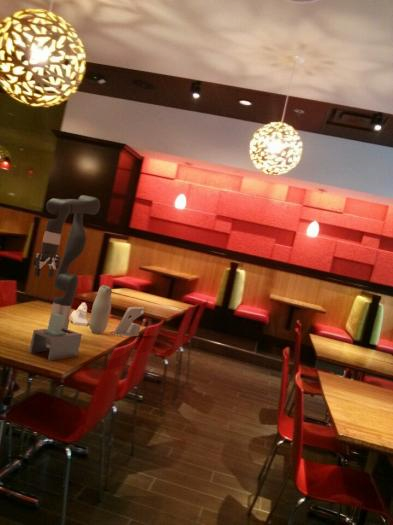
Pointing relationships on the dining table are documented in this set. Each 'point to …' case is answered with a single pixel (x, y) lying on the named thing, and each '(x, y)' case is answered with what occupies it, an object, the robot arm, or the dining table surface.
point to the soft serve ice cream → (80, 315)
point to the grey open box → (56, 343)
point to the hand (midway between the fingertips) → (43, 276)
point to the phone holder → (129, 322)
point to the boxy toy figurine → (54, 326)
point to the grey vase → (101, 310)
